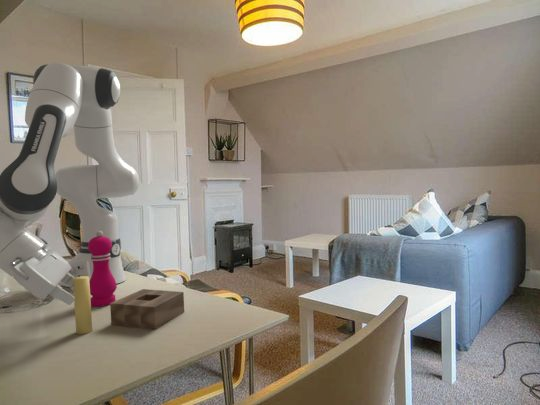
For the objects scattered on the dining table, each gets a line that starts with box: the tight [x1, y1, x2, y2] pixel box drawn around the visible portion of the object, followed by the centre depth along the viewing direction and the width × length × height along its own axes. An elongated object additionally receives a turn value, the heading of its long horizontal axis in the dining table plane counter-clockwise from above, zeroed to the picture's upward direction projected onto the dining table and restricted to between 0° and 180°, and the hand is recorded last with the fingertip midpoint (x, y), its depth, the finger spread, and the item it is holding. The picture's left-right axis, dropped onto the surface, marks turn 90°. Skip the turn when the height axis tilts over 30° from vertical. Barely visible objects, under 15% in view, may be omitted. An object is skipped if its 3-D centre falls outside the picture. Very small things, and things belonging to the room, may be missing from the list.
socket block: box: [109, 288, 185, 330], centre depth 94 cm, size 12×12×5 cm
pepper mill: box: [88, 231, 117, 308], centre depth 106 cm, size 7×7×20 cm
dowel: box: [73, 276, 93, 335], centre depth 86 cm, size 3×3×12 cm
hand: (76, 295), depth 85 cm, fingers open, 8 cm apart
